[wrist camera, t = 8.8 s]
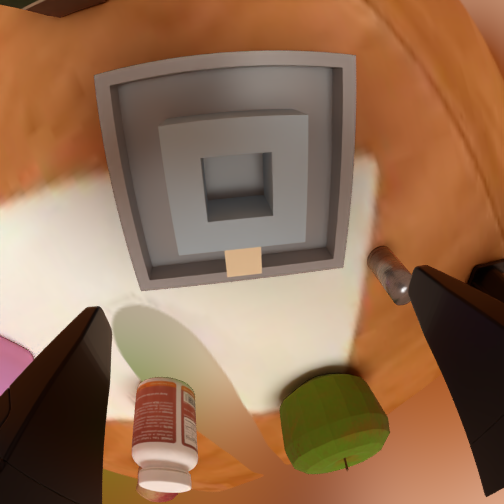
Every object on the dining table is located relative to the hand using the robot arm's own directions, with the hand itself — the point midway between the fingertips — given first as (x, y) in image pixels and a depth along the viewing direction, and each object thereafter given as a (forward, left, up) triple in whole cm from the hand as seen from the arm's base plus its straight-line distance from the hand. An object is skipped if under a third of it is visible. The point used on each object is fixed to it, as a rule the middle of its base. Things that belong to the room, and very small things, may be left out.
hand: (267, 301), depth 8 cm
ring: (0, 0, -11) cm, 11 cm away
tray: (0, 0, -12) cm, 12 cm away
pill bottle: (+9, +22, -12) cm, 27 cm away
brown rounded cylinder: (-11, +8, -12) cm, 18 cm away
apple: (-8, +26, -12) cm, 30 cm away
